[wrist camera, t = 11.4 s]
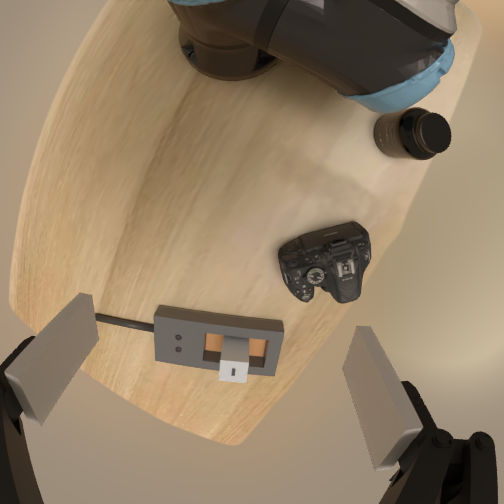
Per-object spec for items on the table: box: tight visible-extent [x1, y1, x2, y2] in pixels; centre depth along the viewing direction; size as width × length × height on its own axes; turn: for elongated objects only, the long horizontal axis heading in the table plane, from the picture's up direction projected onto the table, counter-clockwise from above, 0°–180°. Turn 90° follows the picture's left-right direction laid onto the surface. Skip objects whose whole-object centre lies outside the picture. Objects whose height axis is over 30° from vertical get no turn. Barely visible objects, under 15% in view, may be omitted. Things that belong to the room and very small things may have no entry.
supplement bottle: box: [374, 107, 451, 160], centre depth 33 cm, size 7×7×12 cm
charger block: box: [219, 335, 249, 383], centre depth 45 cm, size 4×4×8 cm
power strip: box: [95, 305, 284, 376], centre depth 47 cm, size 33×9×4 cm, turn 83°
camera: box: [278, 222, 371, 303], centre depth 40 cm, size 13×10×10 cm
